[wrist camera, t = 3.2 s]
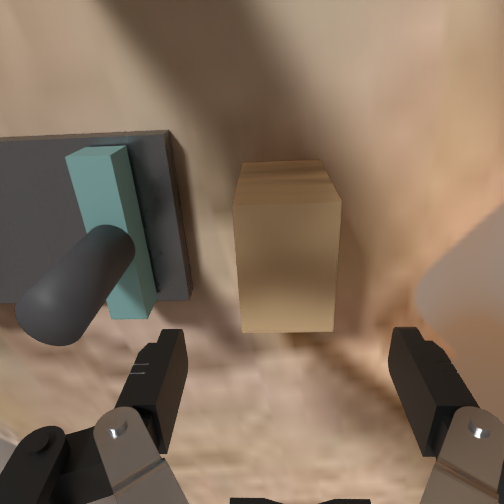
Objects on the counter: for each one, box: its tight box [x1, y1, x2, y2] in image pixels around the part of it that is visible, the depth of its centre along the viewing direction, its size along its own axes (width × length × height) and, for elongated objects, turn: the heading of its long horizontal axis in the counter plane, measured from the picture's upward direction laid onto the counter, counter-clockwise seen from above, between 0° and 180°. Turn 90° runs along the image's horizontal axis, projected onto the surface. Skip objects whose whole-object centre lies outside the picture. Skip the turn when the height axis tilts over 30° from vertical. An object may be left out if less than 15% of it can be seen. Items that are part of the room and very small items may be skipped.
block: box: [232, 159, 342, 333], centre depth 22 cm, size 8×5×8 cm, turn 3°
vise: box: [0, 130, 193, 304], centre depth 24 cm, size 12×19×4 cm, turn 93°
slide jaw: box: [15, 145, 158, 346], centre depth 20 cm, size 11×3×10 cm, turn 3°
